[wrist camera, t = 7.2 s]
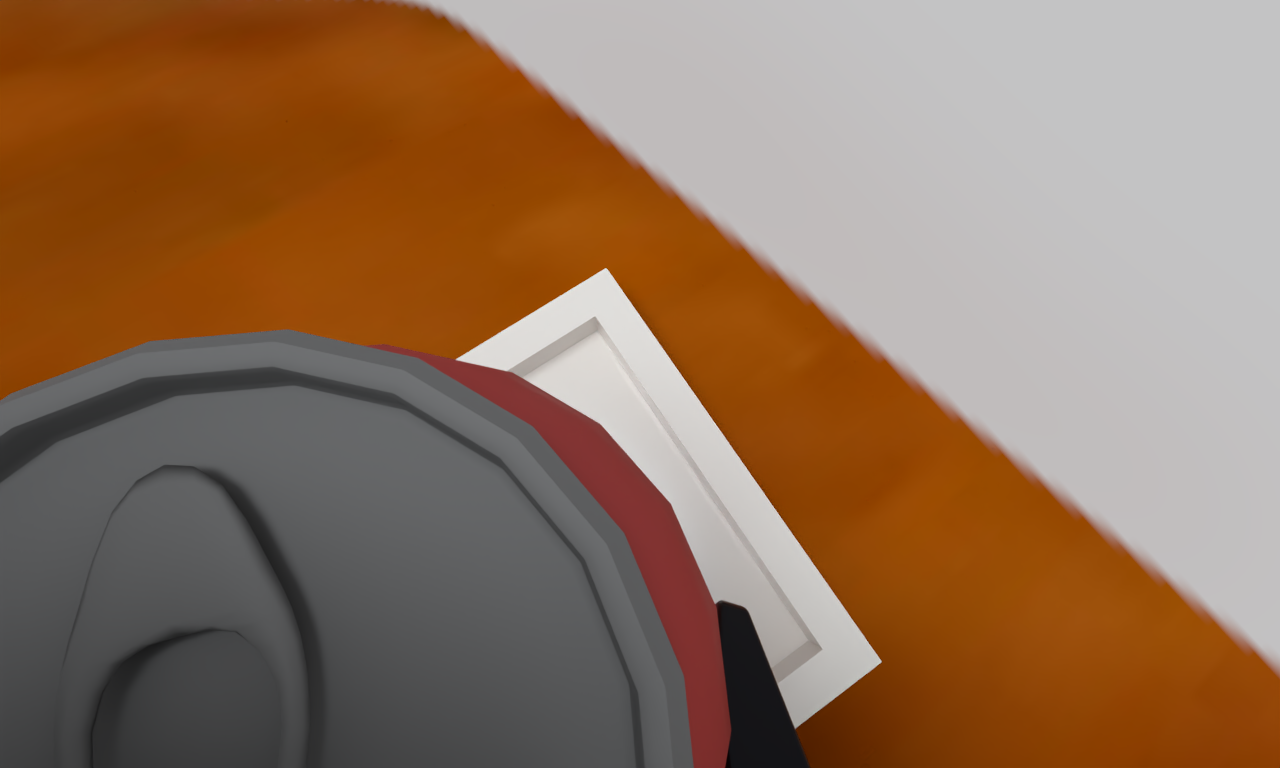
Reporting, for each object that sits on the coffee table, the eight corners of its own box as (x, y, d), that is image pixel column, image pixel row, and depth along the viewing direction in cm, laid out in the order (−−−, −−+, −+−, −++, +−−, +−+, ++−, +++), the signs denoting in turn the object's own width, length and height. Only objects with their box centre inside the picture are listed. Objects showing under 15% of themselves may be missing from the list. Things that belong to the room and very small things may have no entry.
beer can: (628, 432, 16) (628, 153, 4) (698, 702, 14) (995, 1431, 3) (373, 497, 15) (-432, 387, 4) (418, 783, 14) (-686, 2101, 2)
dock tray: (849, 644, 17) (881, 662, 15) (465, 935, 15) (437, 1004, 13) (609, 297, 19) (606, 268, 17) (250, 518, 17) (196, 517, 15)
